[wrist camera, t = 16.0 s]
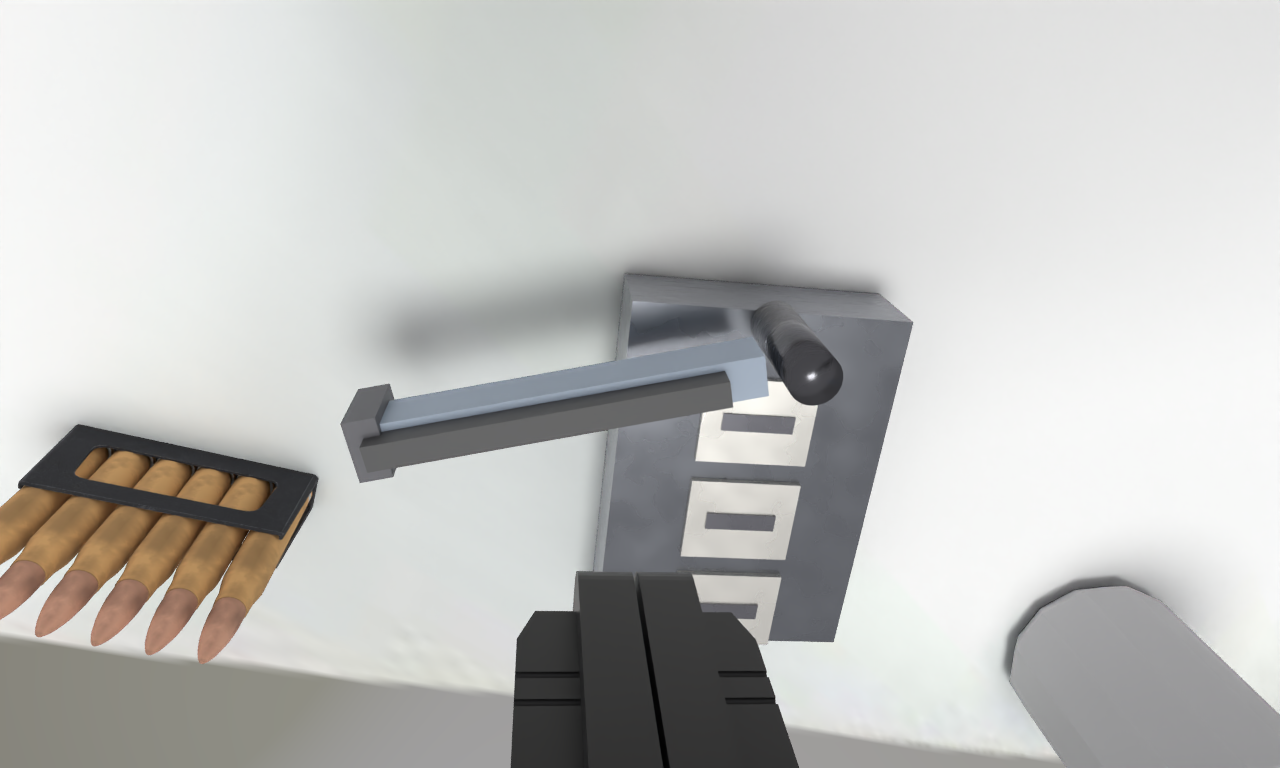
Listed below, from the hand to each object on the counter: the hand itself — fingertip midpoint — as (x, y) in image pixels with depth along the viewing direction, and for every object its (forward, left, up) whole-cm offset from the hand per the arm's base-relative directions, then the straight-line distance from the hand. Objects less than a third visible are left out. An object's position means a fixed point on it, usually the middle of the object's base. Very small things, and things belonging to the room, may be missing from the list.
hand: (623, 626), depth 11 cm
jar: (-32, +23, -28) cm, 48 cm away
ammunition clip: (+16, +14, -28) cm, 35 cm away
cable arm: (0, +6, -21) cm, 22 cm away
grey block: (-9, +11, -28) cm, 31 cm away
